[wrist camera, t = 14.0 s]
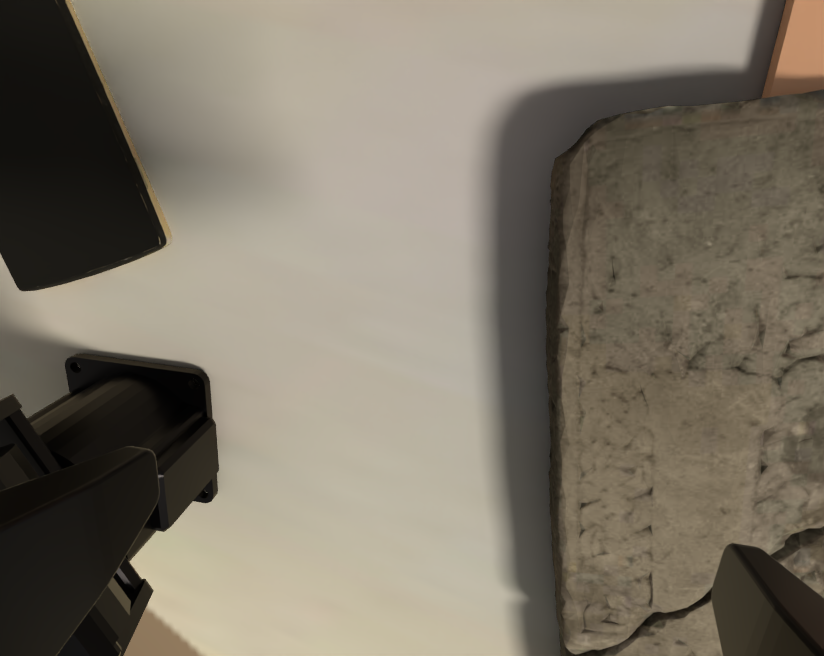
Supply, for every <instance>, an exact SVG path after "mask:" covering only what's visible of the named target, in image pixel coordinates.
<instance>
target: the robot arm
mask: <svg viewBox="0 0 824 656" xmlns="http://www.w3.org/2000/svg"><path fill="white" fill-rule="evenodd" d="M77 363H78V364H79V365H80V367H81V368H79V367H78V365H77ZM65 368H66V374H67V380H68V385H69V391H70V393H68V394H67V395H65V396H63V397H62V398H60V399H59V400H57V401H55V402H54V403H52V404H50V405H49V406H47V407H45V408H44V409H42V410H40V411H39V412H37V413H35V414H34V415H32V416H31V417H29V418H26V417H25V416H24V414H23V413H22V411H21V410H20V408H22V406H21V404H20V403H19V402H18V400H17V399H16V397H15V396H14V395H13V394H12V395H10V396H8V397H6V398H4V399H2V400H0V656H123V655H124V653H125V651H126V649H127V646H128V644H129V642H130V640H131V638H132V636H133V634H134V632H135V629H136V627H137V625H138V623H139V621H140V619H141V617H142V614H143V612H144V610H145V608H146V606H147V604H148V602H149V599H150V597H151V595H152V593H153V589H152V588H151V586H150V585H149V584H148V582H147V581H146V579H141V577H140V576H139V575H138V573H137V572H136V571H135V569H134V568H133V566H132V565H131V564H130V562H129V561H130V560H131V559H132V558H133V557H134V556H135V555H136V554H137V552H138V551H139V550H140V549H141V548H142V547H143V546H144V544H145V543H146V542H147V541H148V540H149V539H150V538H151V537H152V535H153V534H154V533H155V532H156V531H163V532H164V531H166V530H167V529H168V528H170V527H171V526H172V525H173V524H174V522H175V521H176V520H177V519H178V518H179V517H180V515H181V514H182V513H183V512H184V511H185V510H186V508H187V507H188V506H189V505H190V504H191V503H192V501H196V502H202V503H209V502H211V501H212V500H213V498H214V497H215V496H216V495H217V492H218V486H217V472H218V471H219V464H218V450H217V436H216V424H215V422H214V420H213V418H212V405H211V391H210V381H209V377H208V376H207V374H206V373H204V372H203V371H201V370H198V369H191V368H183V367H176V366H169V365H161V364H154V363H147V362H139V361H132V360H125V359H117V358H110V357H102V356H95V355H88V354H75V355H73V356H72V357H70V358H68V359H67V360H66V362H65ZM193 379H196V380H197V381H198V382H199V385H200V386H199V385H196V384H195V383H194V380H193ZM203 489H204V490H206V491H207V492H208V493H206V492H205V491H204V490H203ZM711 598H712V606H713V611H714V615H715V620H716V625H717V630H718V635H719V639H720V644H721V649H722V654H723V656H824V598H823V597H822V596H821V595H820V594H818V593H817V592H816V591H814V590H813V589H812V588H811V587H809V586H808V585H807V584H806V583H804V582H803V581H802V580H801V579H799V578H798V577H797V576H795V575H794V574H793V573H792V572H790V571H789V570H788V569H787V568H785V567H784V566H783V565H782V564H780V563H779V562H778V561H776V560H775V559H774V558H773V557H771V556H770V555H769V554H768V553H766V552H765V551H764V550H762V549H761V548H758V547H755V546H749V545H742V544H736V543H731V544H728V545H727V546H726V547H725V549H724V551H723V554H722V557H721V560H720V563H719V567H718V570H717V573H716V576H715V579H714V582H713V586H712V595H711Z"/></svg>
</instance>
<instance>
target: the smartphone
mask: <svg viewBox="0 0 824 656" xmlns="http://www.w3.org/2000/svg"><path fill="white" fill-rule="evenodd" d="M171 241H172V236H171V233H170V230H169V227H168V224H167V222H166V219H165V217H164V214H163V212H162V210H161V207H160V205H159V203H158V201H157V198H156V196H155V194H154V191H153V189H152V187H151V185H150V182H149V180H148V178H147V175H146V173H145V171H144V169H143V166H142V164H141V162H140V159H139V157H138V155H137V153H136V150H135V148H134V146H133V143H132V141H131V139H130V137H129V134H128V132H127V130H126V128H125V125H124V123H123V121H122V118H121V116H120V114H119V112H118V109H117V107H116V105H115V102H114V100H113V98H112V96H111V93H110V91H109V89H108V86H107V84H106V82H105V80H104V77H103V75H102V73H101V71H100V68H99V66H98V64H97V61H96V59H95V57H94V55H93V52H92V50H91V48H90V45H89V43H88V41H87V39H86V36H85V34H84V32H83V29H82V27H81V25H80V23H79V20H78V18H77V16H76V14H75V11H74V9H73V7H72V4H71V2H70V0H0V253H1V255H2V257H3V259H4V261H5V263H6V265H7V267H8V269H9V271H10V273H11V275H12V277H13V279H14V281H15V283H16V285H17V287H18V288H19V290H21V291H35V290H40V289H45V288H49V287H53V286H58V285H62V284H65V283H69V282H72V281H75V280H79V279H82V278H86V277H89V276H92V275H96V274H99V273H102V272H104V271H107V270H110V269H113V268H116V267H118V266H121V265H124V264H127V263H130V262H132V261H135V260H137V259H140V258H142V257H144V256H147V255H149V254H151V253H154V252H156V251H158V250H160V249H162V248H164V247H166V246H168V245H169V244H170V243H171Z"/></svg>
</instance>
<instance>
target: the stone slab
mask: <svg viewBox="0 0 824 656" xmlns="http://www.w3.org/2000/svg"><path fill="white" fill-rule="evenodd" d="M550 187H551V200H550V203H551V218H550V228H549V244H548V248H549V250H550V252H549V268H548V285H547V291H546V301H547V307H546V325H547V338H546V353H547V364H546V365H547V372H548V384H547V385H548V391H549V416H550V434H551V449H550V462H551V467H550V471H549V479H550V489H549V490H550V515H551V531H552V550H553V563H554V571H555V584H556V591H555V597H556V603H557V604H556V610H557V620H558V624H559V628H560V629H559V631H560V646H561V650H560V653H561V656H723V654H722V649H721V644H720V639H719V635H718V630H717V625H716V620H715V615H714V611H713V606H712V598H711V595H712V586H713V582H714V579H715V576H716V573H717V570H718V567H719V563H720V560H721V557H722V554H723V551H724V549H725V547H726V546H727V545H728V544H731V543H736V544H742V545H749V546H755V547H758V548H761V549H762V550H764V551H765V552H766V553H768V554H769V555H770V556H771V557H773V558H774V559H775V560H776V561H778V562H779V563H780V564H782V565H783V566H784V567H785V568H787V569H788V570H789V571H790V572H792V573H793V574H794V575H795V576H797V577H798V578H799V579H801V580H802V581H803V582H804V583H806V584H807V585H808V586H809V587H811V588H812V589H813V590H814V591H816V592H817V593H818V594H820V595H821V596H822V597H823V598H824V89H822V90H817V91H812V92H806V93H801V94H789V95H780V96H774V97H767V98H760V99H754V100H747V101H741V102H730V103H719V104H708V105H698V106H664V107H658V108H652V109H646V110H639V111H634V112H629V113H624V114H619V115H616V116H612V117H608V118H605V119H601V120H598V121H597V122H596V123H594V124H593V125H592V126H591V127H589V128H588V129H587V130H586V131H585V132H584V134H583V135H582V136H581V137H580V139H579V140H578V141H577V142H576V143H575V144H574V145H573V146H572V147H571V148H570V149H568V150H567V151H566V152H565V153H563V154H562V155H560V156H559V157H557V158H556V159H555V162H554V166H553V170H552V176H551V184H550Z"/></svg>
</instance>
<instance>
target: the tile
mask: <svg viewBox="0 0 824 656" xmlns="http://www.w3.org/2000/svg"><path fill="white" fill-rule="evenodd" d="M822 89H824V0H786V4H785V8H784V12H783V16H782V20H781V23H780V27H779V31H778V35H777V39H776V43H775V47H774V51H773V55H772V59H771V63H770V67H769V71H768V75H767V78H766V82H765V86H764V90H763V94H762V98H767V97H774V96H780V95H789V94H801V93H806V92H812V91H817V90H822Z"/></svg>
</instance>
